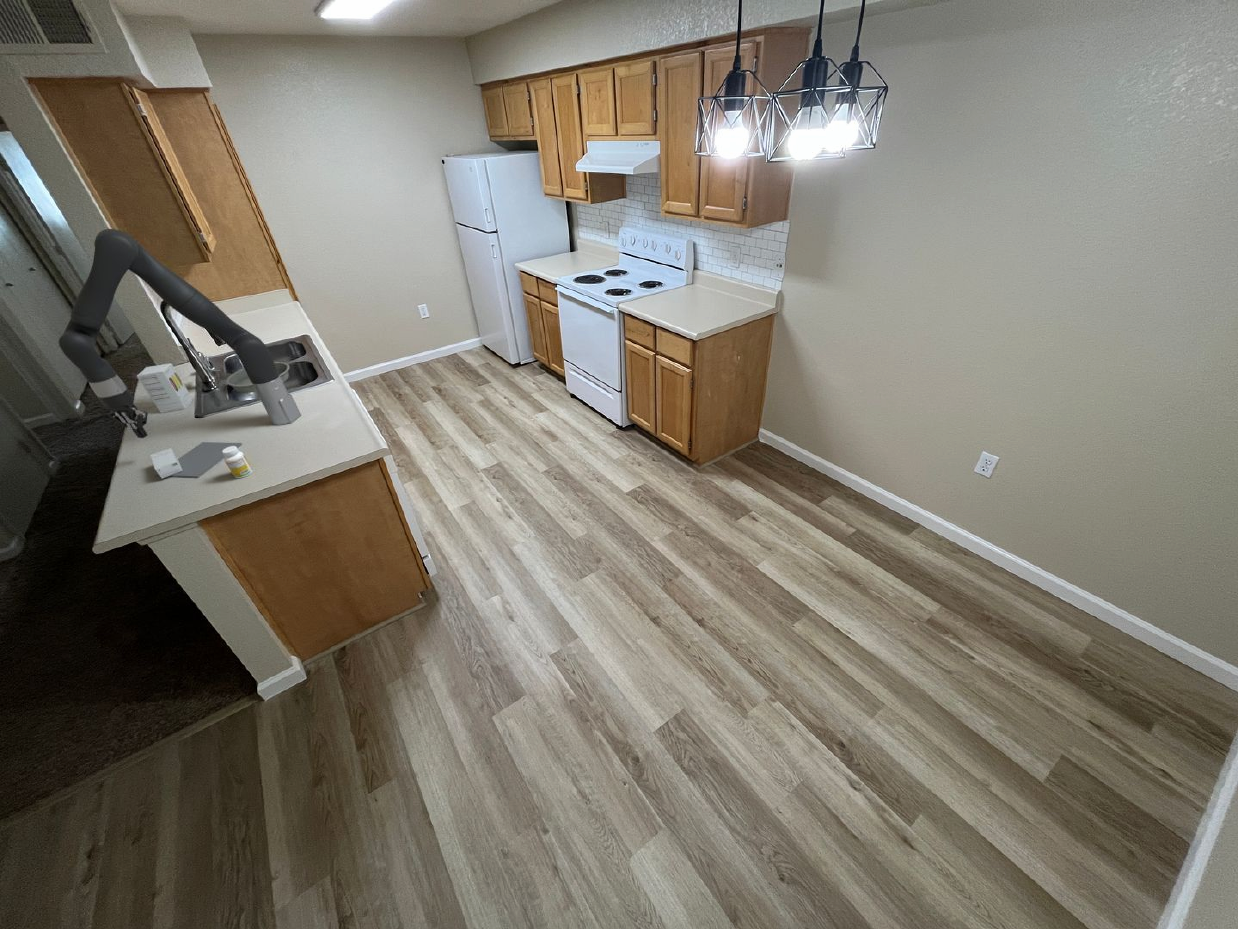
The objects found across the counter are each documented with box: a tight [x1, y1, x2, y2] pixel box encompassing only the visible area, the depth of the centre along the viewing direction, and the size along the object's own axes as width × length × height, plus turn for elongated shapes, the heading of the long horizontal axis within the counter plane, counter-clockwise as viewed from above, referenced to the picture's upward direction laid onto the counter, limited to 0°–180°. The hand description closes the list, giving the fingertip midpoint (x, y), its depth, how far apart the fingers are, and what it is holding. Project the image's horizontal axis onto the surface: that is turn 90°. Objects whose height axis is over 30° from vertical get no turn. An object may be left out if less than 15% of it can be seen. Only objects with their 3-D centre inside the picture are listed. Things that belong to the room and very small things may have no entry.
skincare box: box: [150, 447, 183, 480], centre depth 170 cm, size 6×4×12 cm
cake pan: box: [225, 361, 290, 394], centre depth 226 cm, size 25×25×4 cm
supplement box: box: [136, 363, 194, 414], centre depth 207 cm, size 10×9×17 cm
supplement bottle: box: [222, 446, 254, 479], centre depth 165 cm, size 5×5×10 cm
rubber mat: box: [155, 441, 243, 479], centre depth 176 cm, size 16×20×1 cm
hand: (143, 436), depth 173 cm, fingers closed
